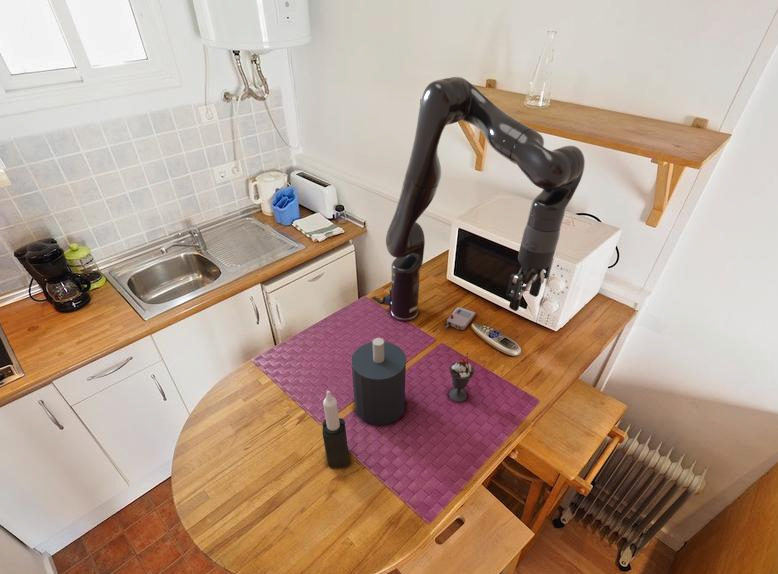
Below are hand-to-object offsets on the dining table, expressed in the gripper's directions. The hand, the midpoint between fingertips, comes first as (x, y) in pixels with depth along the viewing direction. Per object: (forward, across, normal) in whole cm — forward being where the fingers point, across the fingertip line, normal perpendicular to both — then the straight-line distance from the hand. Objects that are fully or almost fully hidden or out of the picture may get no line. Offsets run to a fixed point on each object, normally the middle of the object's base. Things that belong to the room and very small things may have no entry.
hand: (523, 302), depth 106 cm
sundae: (+29, +13, -6) cm, 33 cm away
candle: (+29, +51, -12) cm, 60 cm away
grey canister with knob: (+29, +32, -18) cm, 47 cm away
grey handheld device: (+30, -13, -27) cm, 42 cm away
